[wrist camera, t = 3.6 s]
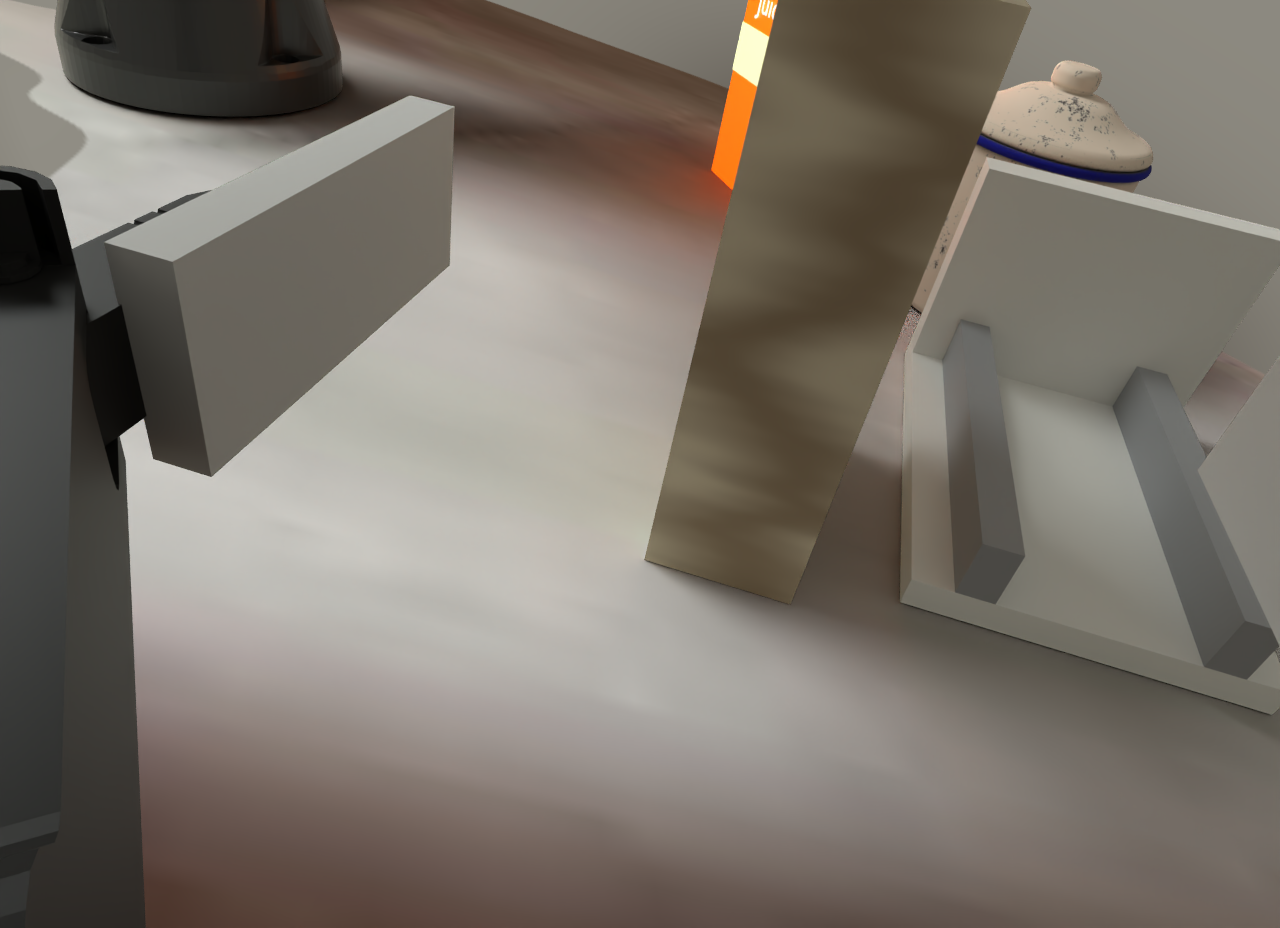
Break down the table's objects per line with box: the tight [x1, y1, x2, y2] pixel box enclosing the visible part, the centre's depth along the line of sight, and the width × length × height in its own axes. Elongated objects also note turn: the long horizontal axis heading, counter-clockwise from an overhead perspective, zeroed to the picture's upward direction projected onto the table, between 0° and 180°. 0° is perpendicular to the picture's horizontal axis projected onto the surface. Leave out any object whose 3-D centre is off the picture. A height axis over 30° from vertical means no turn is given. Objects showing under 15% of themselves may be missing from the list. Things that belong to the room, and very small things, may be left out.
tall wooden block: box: [645, 0, 1031, 604], centre depth 24 cm, size 4×9×16 cm, turn 165°
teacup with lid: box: [912, 61, 1153, 313], centre depth 42 cm, size 12×9×12 cm
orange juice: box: [711, 0, 778, 190], centre depth 47 cm, size 8×9×20 cm
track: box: [900, 157, 1280, 715], centre depth 29 cm, size 16×11×9 cm
